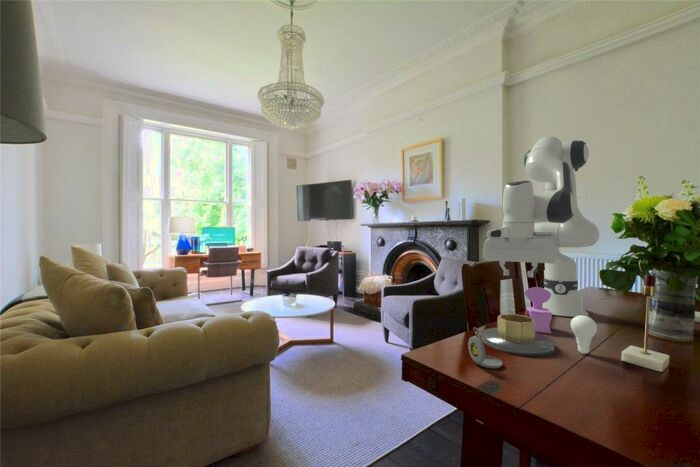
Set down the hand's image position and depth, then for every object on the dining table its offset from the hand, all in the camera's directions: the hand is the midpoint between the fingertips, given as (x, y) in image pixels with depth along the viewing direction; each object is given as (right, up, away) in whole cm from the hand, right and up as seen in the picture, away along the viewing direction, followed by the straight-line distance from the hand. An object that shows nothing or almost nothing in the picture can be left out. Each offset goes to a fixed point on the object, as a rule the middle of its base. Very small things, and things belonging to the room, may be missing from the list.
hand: (518, 276), depth 96 cm
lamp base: (0, -21, 0) cm, 21 cm away
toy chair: (+15, -22, +14) cm, 30 cm away
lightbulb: (+15, -22, -8) cm, 27 cm away
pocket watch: (-17, -22, -15) cm, 31 cm away
